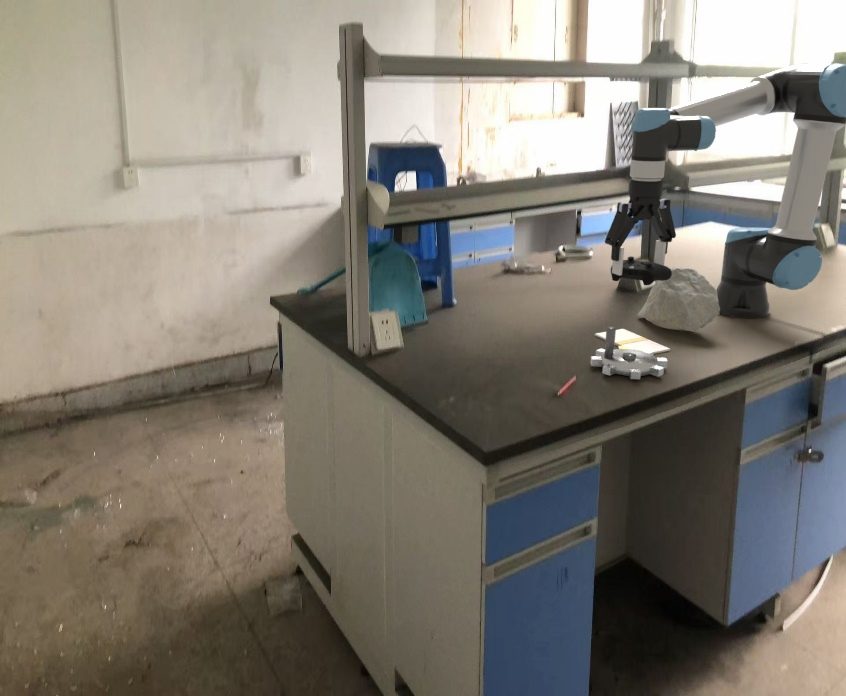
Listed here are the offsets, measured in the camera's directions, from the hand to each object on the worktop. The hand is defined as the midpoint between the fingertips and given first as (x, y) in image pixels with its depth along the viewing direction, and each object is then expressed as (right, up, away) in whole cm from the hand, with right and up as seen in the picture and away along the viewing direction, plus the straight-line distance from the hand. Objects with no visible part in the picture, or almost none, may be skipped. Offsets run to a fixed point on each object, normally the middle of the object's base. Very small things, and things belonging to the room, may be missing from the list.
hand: (637, 271), depth 188 cm
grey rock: (+14, -13, +17) cm, 26 cm away
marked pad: (0, -17, +6) cm, 18 cm away
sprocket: (-5, -23, -10) cm, 25 cm away
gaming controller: (0, -2, +1) cm, 2 cm away
